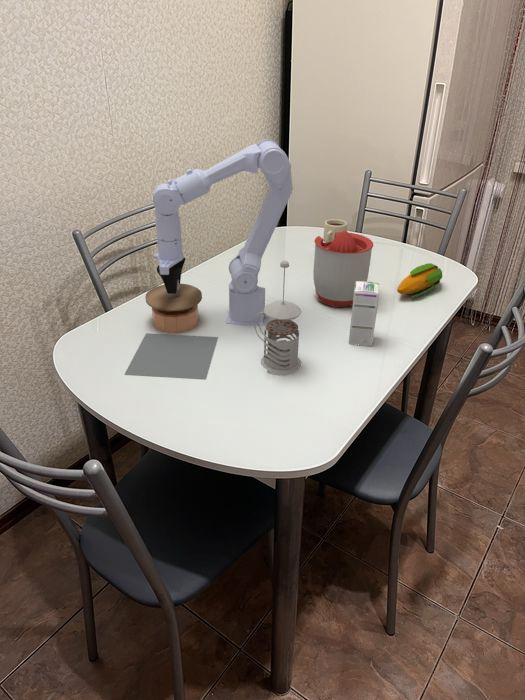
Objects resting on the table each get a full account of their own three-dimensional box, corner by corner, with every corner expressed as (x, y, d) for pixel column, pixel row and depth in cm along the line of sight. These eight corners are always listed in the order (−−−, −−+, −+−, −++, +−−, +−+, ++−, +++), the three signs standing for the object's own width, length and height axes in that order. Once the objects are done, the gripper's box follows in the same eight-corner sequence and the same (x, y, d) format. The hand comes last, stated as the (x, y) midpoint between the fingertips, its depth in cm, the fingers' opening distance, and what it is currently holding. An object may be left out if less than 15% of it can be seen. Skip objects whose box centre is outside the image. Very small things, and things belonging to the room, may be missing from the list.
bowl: (201, 313, 139) (200, 297, 136) (193, 334, 129) (192, 318, 127) (160, 310, 139) (158, 295, 137) (149, 331, 130) (147, 316, 127)
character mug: (335, 268, 165) (339, 229, 158) (315, 264, 168) (318, 225, 161) (349, 258, 173) (353, 219, 166) (329, 253, 176) (333, 216, 169)
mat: (218, 338, 128) (218, 337, 127) (205, 380, 112) (205, 379, 112) (146, 334, 129) (146, 333, 128) (124, 376, 113) (124, 374, 113)
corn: (451, 262, 152) (413, 281, 140) (447, 286, 155) (410, 306, 144) (428, 256, 156) (389, 274, 145) (425, 280, 160) (387, 299, 148)
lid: (206, 287, 136) (205, 270, 133) (195, 312, 124) (194, 294, 122) (154, 284, 137) (152, 267, 134) (138, 309, 125) (136, 291, 123)
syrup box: (372, 347, 125) (380, 292, 118) (347, 344, 126) (354, 290, 119) (372, 335, 130) (380, 282, 122) (349, 332, 131) (355, 280, 123)
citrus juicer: (337, 280, 158) (344, 216, 147) (377, 303, 145) (387, 234, 135) (295, 292, 150) (299, 225, 140) (333, 316, 138) (341, 245, 127)
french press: (288, 380, 113) (294, 274, 100) (244, 364, 118) (244, 261, 105) (309, 359, 120) (317, 258, 107) (266, 345, 125) (269, 246, 112)
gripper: (159, 226, 128) (164, 277, 136) (144, 247, 116) (150, 302, 123) (188, 227, 128) (191, 278, 135) (175, 249, 116) (179, 303, 123)
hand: (173, 289), depth 129 cm, fingers closed on lid, 3 cm apart
